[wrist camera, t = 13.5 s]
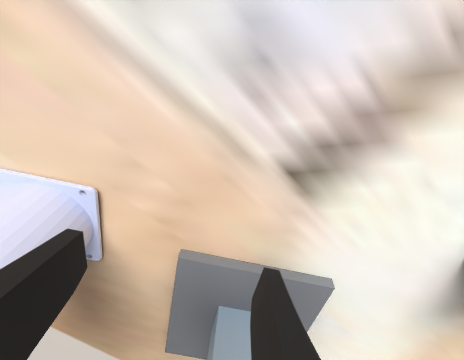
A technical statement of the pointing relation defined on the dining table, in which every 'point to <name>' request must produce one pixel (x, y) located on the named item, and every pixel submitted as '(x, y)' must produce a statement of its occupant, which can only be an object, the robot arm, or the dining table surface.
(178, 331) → the rubber mat
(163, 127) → the dining table surface
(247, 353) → the slate cube
